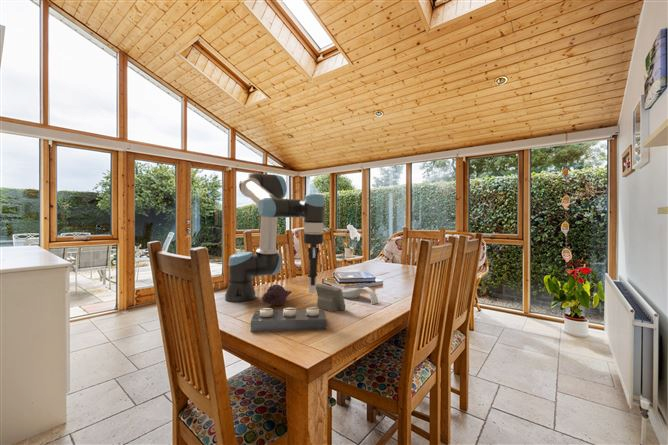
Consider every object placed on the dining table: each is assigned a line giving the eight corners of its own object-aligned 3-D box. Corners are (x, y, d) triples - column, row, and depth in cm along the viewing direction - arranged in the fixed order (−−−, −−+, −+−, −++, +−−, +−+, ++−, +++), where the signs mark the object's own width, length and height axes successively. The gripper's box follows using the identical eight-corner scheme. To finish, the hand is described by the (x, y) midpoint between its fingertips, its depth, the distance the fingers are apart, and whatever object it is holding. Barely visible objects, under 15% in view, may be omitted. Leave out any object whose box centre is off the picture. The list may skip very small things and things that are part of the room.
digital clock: (347, 310, 140) (347, 287, 140) (331, 314, 135) (331, 290, 135) (327, 302, 154) (327, 281, 153) (311, 305, 148) (312, 283, 148)
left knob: (258, 326, 117) (258, 311, 117) (260, 322, 122) (260, 307, 122) (272, 326, 117) (272, 311, 117) (273, 321, 122) (273, 307, 122)
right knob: (306, 325, 119) (306, 310, 119) (306, 320, 124) (306, 306, 124) (319, 324, 119) (319, 310, 119) (318, 320, 124) (318, 306, 124)
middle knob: (282, 325, 118) (282, 310, 118) (283, 321, 123) (283, 307, 123) (295, 325, 118) (296, 310, 118) (296, 321, 123) (296, 306, 123)
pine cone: (269, 312, 136) (269, 289, 136) (254, 308, 142) (254, 286, 142) (296, 303, 151) (296, 283, 151) (281, 299, 157) (281, 280, 156)
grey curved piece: (334, 296, 165) (334, 283, 165) (349, 293, 173) (350, 280, 173) (367, 306, 148) (368, 291, 148) (383, 302, 156) (383, 288, 156)
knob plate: (250, 331, 113) (250, 321, 113) (255, 320, 125) (255, 311, 125) (326, 329, 116) (326, 319, 116) (323, 319, 128) (323, 309, 128)
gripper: (324, 234, 115) (323, 297, 116) (322, 232, 128) (320, 288, 129) (304, 234, 114) (303, 297, 115) (303, 232, 127) (302, 288, 128)
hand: (312, 292), depth 122 cm, fingers closed
